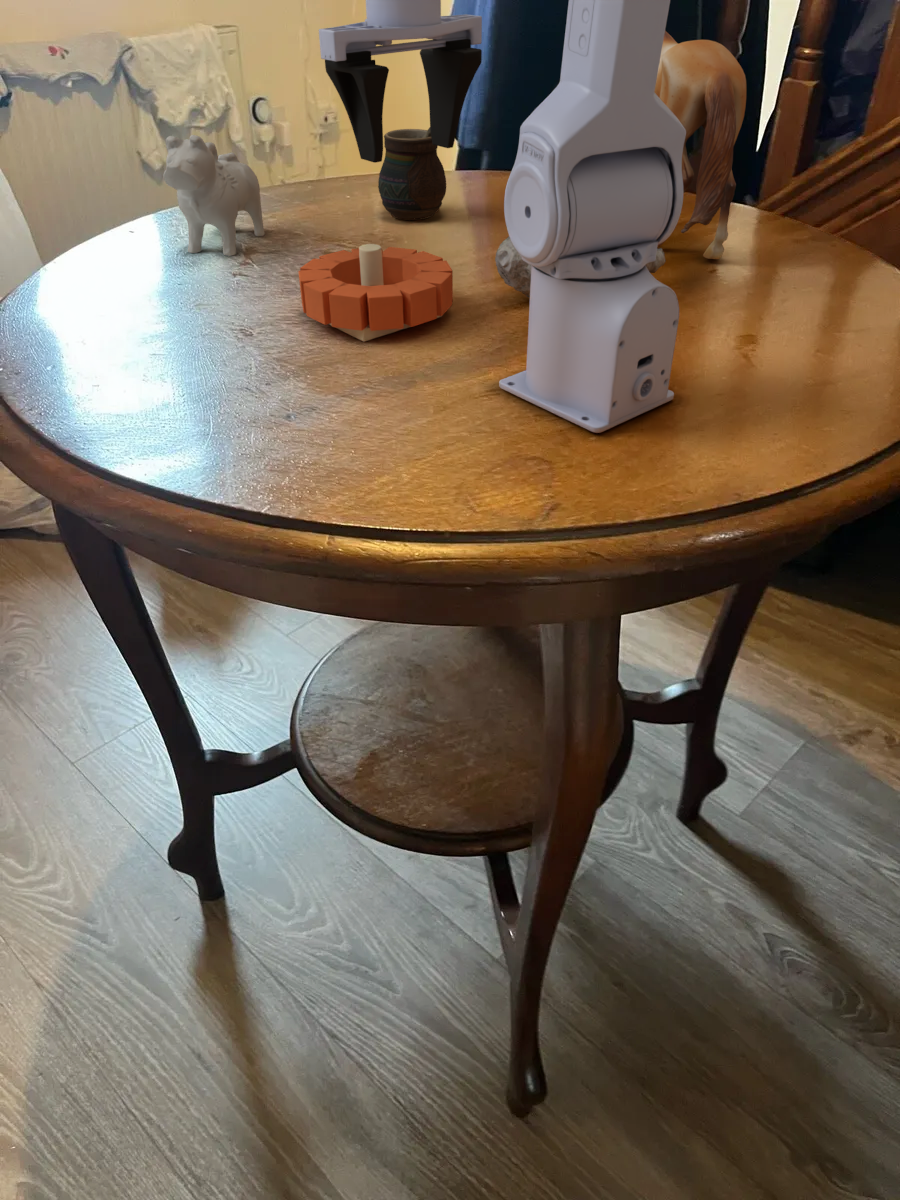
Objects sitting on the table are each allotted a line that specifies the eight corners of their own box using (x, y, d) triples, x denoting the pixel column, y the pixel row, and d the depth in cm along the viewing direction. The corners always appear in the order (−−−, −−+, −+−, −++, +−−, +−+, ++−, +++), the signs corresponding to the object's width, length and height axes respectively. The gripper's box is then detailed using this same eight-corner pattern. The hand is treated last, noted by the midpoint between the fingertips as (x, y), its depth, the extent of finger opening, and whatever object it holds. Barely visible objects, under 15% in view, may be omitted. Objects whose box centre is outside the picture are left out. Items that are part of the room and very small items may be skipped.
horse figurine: (568, 198, 102) (583, -21, 90) (632, 194, 104) (656, -23, 91) (681, 290, 78) (723, 10, 66) (762, 283, 80) (819, 6, 67)
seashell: (679, 274, 73) (650, 174, 70) (525, 341, 76) (489, 248, 72) (662, 264, 79) (634, 172, 76) (519, 327, 81) (485, 240, 78)
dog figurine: (165, 265, 85) (140, 141, 78) (225, 226, 94) (207, 112, 88) (217, 269, 84) (195, 144, 77) (272, 229, 93) (257, 115, 87)
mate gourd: (366, 213, 98) (360, 110, 92) (422, 201, 102) (420, 102, 95) (403, 228, 93) (399, 121, 87) (461, 215, 97) (461, 112, 91)
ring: (481, 304, 73) (482, 272, 72) (361, 343, 67) (359, 309, 65) (389, 268, 81) (388, 238, 79) (273, 300, 74) (269, 268, 73)
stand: (442, 316, 74) (441, 248, 70) (363, 342, 70) (358, 270, 66) (383, 291, 79) (380, 226, 75) (306, 313, 75) (299, 245, 71)
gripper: (441, -54, 72) (443, 132, 81) (289, -47, 65) (308, 157, 73) (501, -51, 68) (496, 145, 77) (345, -43, 61) (359, 173, 69)
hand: (408, 152), depth 75 cm, fingers open, 7 cm apart
